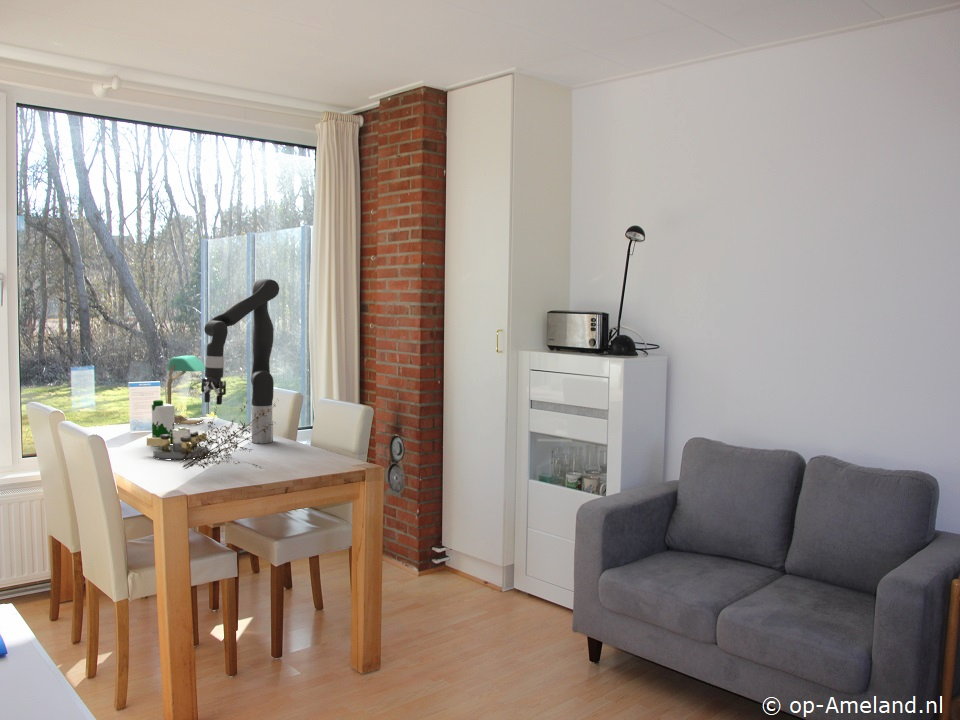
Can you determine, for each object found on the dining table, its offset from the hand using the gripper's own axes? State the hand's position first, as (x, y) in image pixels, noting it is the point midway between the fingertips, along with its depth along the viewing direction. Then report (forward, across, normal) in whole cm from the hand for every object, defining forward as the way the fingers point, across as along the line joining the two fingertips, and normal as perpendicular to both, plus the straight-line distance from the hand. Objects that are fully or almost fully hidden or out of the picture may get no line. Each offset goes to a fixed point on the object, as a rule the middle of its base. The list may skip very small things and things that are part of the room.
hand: (212, 403), depth 349 cm
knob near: (+18, +1, +7) cm, 19 cm away
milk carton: (+21, +24, +8) cm, 33 cm away
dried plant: (+21, -39, +18) cm, 47 cm away
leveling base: (+21, -1, +15) cm, 26 cm away
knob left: (+19, -10, +18) cm, 28 cm away
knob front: (+19, +5, +22) cm, 29 cm away
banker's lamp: (+20, +70, -32) cm, 80 cm away
